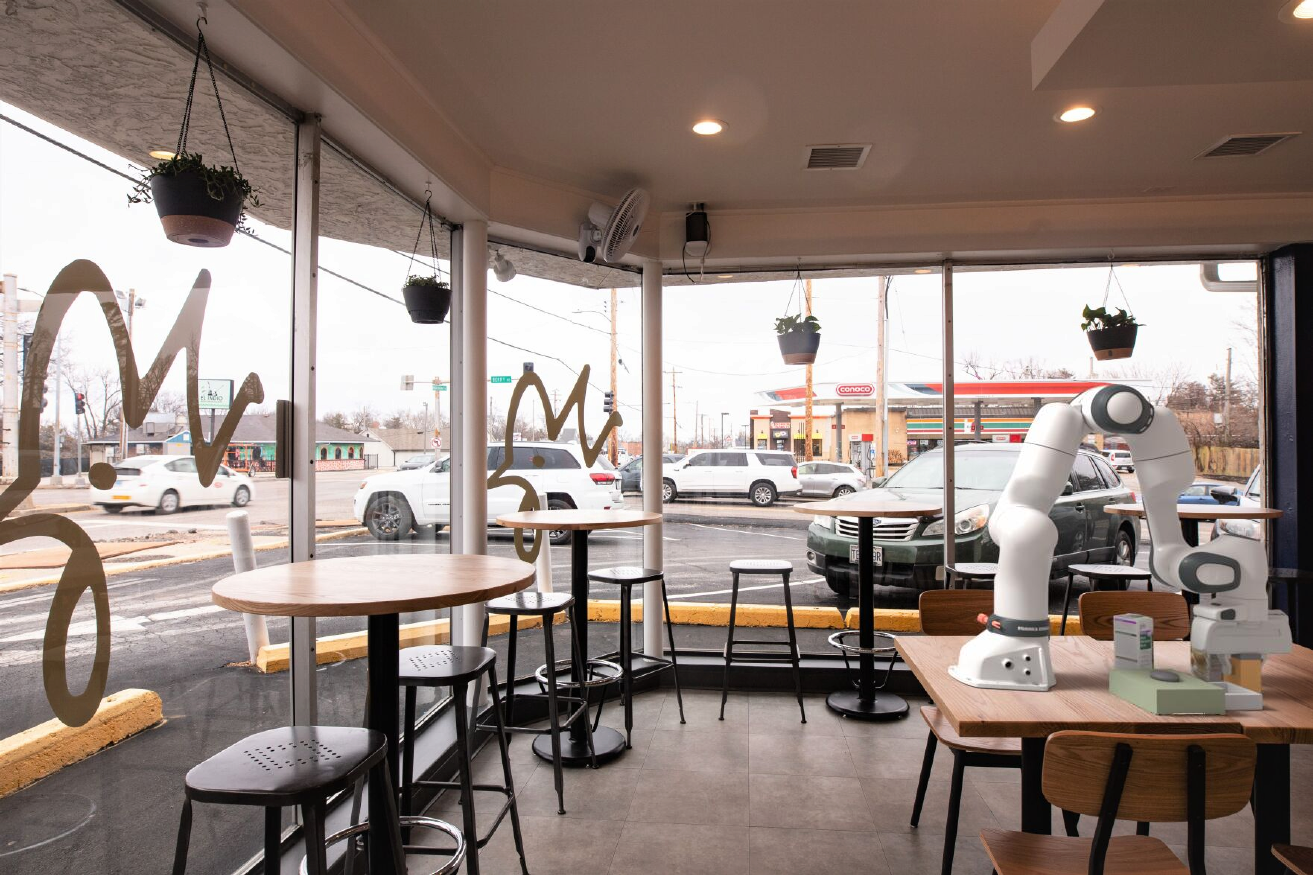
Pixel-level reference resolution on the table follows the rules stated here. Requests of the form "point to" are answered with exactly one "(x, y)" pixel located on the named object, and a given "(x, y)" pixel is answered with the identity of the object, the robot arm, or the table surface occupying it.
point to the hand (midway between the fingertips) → (1242, 674)
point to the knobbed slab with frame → (1179, 692)
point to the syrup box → (1133, 642)
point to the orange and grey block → (1246, 671)
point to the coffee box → (1204, 660)
